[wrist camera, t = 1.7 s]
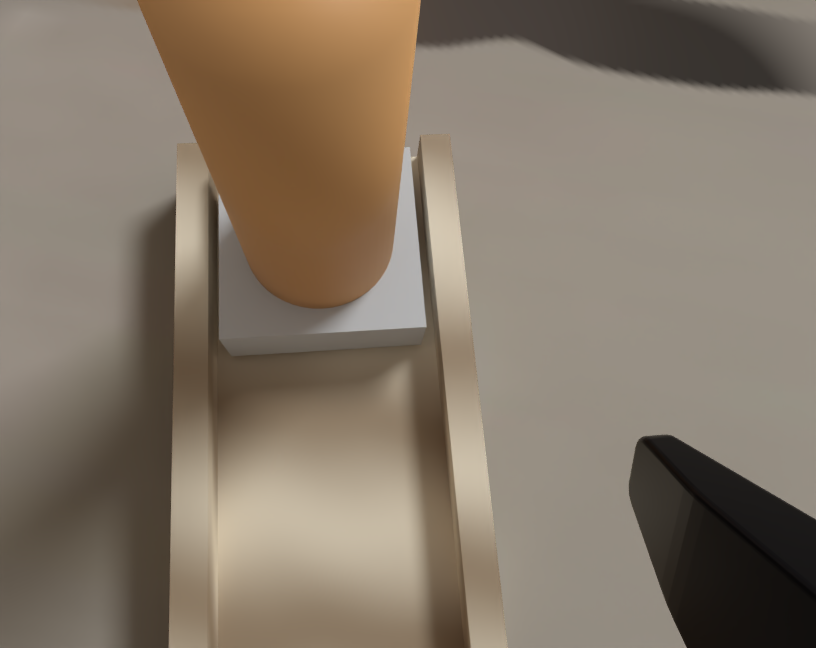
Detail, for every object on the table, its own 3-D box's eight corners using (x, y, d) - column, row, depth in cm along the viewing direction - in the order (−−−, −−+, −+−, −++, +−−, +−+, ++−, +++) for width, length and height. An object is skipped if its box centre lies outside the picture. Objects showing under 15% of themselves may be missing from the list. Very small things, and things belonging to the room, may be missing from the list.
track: (504, 765, 20) (528, 805, 17) (190, 802, 19) (160, 850, 16) (441, 172, 26) (451, 127, 23) (195, 182, 25) (173, 136, 22)
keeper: (421, 344, 22) (491, 123, 10) (231, 356, 21) (68, 138, 10) (405, 178, 24) (450, -180, 12) (230, 185, 23) (90, -182, 11)
